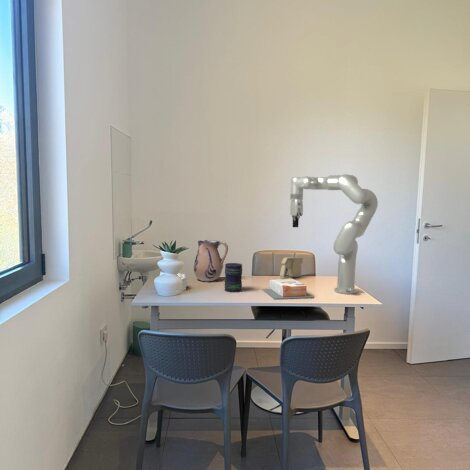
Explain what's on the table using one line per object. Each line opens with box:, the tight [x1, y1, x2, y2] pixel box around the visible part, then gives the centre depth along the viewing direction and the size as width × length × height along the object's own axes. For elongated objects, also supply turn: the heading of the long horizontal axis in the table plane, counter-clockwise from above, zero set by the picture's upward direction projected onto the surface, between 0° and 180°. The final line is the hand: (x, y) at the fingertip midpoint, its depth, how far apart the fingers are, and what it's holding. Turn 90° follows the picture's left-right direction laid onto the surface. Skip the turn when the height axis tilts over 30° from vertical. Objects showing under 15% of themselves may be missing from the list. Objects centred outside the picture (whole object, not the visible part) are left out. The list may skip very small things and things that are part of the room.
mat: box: [262, 288, 314, 301], centre depth 229 cm, size 22×22×1 cm
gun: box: [279, 256, 304, 279], centre depth 272 cm, size 24×3×15 cm, turn 143°
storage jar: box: [224, 262, 243, 293], centre depth 233 cm, size 10×10×18 cm
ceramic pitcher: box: [193, 239, 229, 282], centre depth 259 cm, size 18×21×25 cm
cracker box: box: [268, 277, 308, 297], centre depth 230 cm, size 14×6×21 cm
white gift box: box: [175, 272, 187, 293], centre depth 233 cm, size 10×13×9 cm
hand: (295, 227), depth 255 cm, fingers closed
